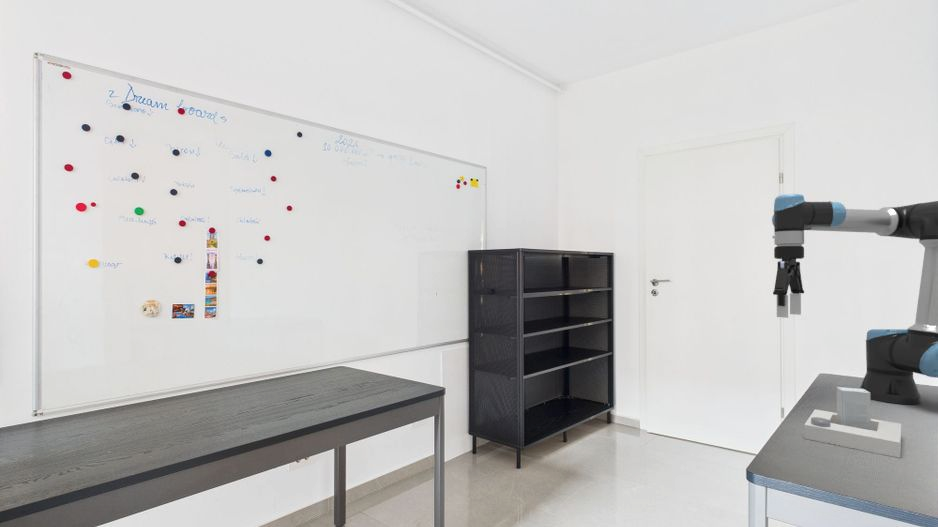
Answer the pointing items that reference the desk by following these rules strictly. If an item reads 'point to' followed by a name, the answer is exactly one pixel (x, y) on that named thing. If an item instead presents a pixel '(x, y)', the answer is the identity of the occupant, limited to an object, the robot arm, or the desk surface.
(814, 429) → the housing
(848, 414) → the skincare box
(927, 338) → the robot arm
